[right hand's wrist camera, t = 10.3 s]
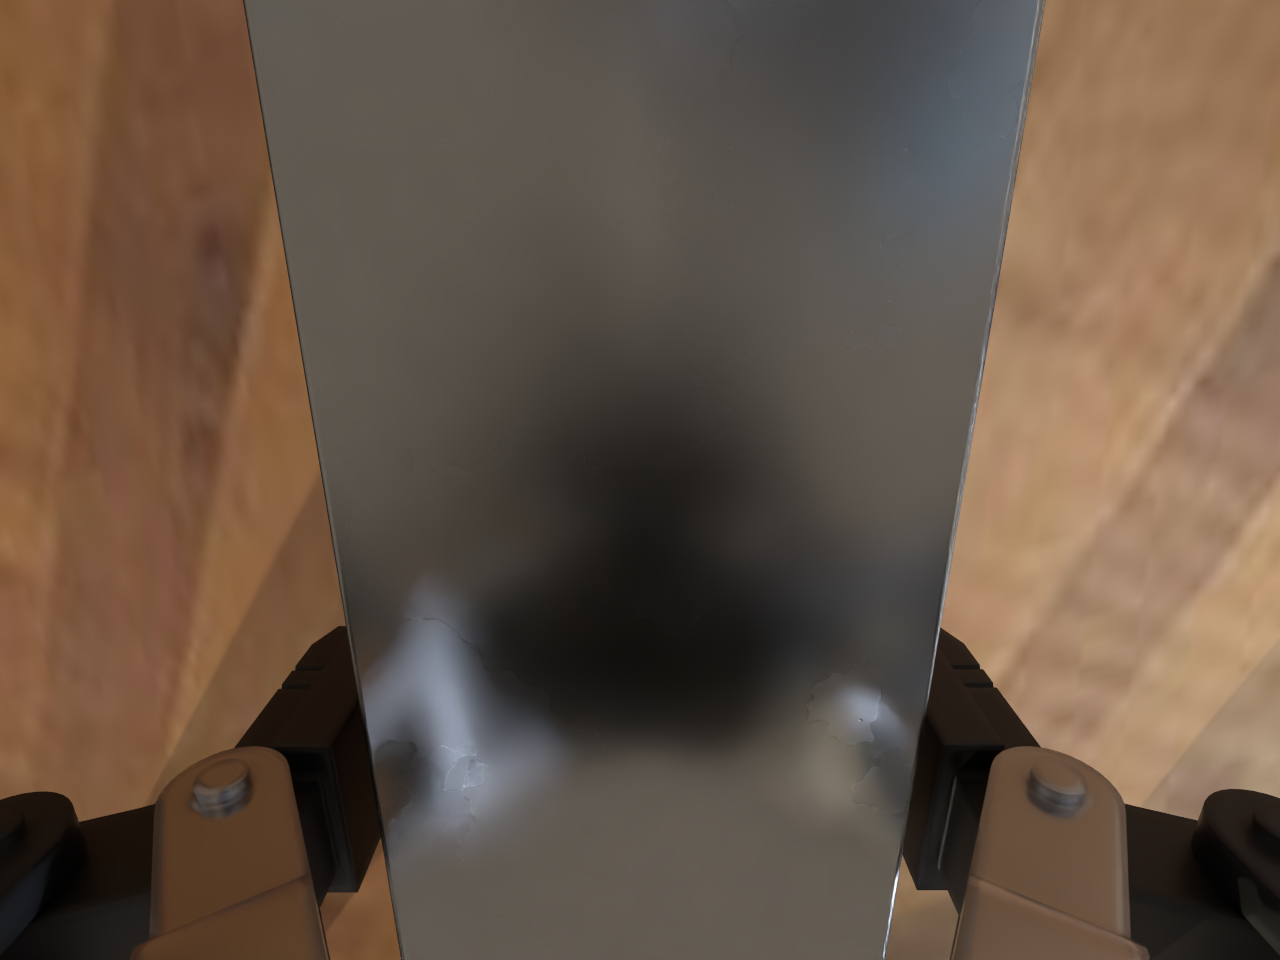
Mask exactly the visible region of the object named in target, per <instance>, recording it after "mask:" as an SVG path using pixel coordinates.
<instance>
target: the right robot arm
mask: <svg viewBox="0 0 1280 960" xmlns="http://www.w3.org/2000/svg"><path fill="white" fill-rule="evenodd" d="M380 837H381V834H380V827H379V821H378V815H377V809H376V803H375V797H374V791H373V785H372V779H371V773H370V767H369V761H368V755H367V749H366V743H365V736H364V730H363V724H362V718H361V712H360V706H359V700H358V694H357V688H356V682H355V676H354V670H353V664H352V658H351V652H350V646H349V639H348V633H347V627H346V626H338V627H337V628H336V629H334V630H333V631H331V632H330V633H328V634H327V635H325V636H324V637H322V638H321V639H320V640H318V641H317V642H315V643H314V644H312V645H311V647H310V648H309V649H308V651H307V652H306V653H305V655H304V656H303V657H302V658H301V660H300V661H299V662H298V664H297V665H296V669H295V671H292V672H291V673H290V674H289V676H288V677H287V678H286V680H285V681H284V682H283V684H282V689H278V690H277V692H276V693H275V694H274V696H273V697H272V698H271V700H270V701H269V702H268V704H267V705H266V706H265V708H264V709H263V710H262V712H261V713H260V714H259V716H258V717H257V718H256V720H255V721H254V722H253V724H252V725H251V726H250V728H249V729H248V730H247V732H246V733H245V734H244V736H243V737H242V738H241V740H240V741H239V742H238V744H237V745H236V746H235V748H234V749H230V750H226V751H222V752H219V753H217V754H214V755H211V756H209V757H207V758H205V759H202V760H200V761H198V762H197V763H195V764H193V765H191V766H190V767H188V768H187V769H185V770H184V771H182V772H181V773H180V774H178V775H177V776H176V777H175V778H174V779H173V780H172V781H171V782H170V783H169V784H168V785H167V786H166V787H165V788H164V790H163V791H162V793H161V794H160V795H159V797H158V800H157V802H156V804H153V805H150V806H146V807H142V808H139V809H134V810H130V811H125V812H121V813H117V814H112V815H108V816H104V817H99V818H95V819H91V820H86V821H82V822H79V821H78V818H77V815H76V813H75V810H74V807H73V804H72V803H71V801H70V800H69V799H68V798H67V797H65V796H64V795H61V794H58V793H54V792H31V793H24V794H20V795H16V796H11V797H8V798H5V799H2V800H0V960H330V955H329V950H328V945H327V940H326V935H325V930H324V925H323V921H322V916H321V912H320V906H321V904H322V902H323V900H324V898H325V896H326V893H327V892H358V891H359V888H360V886H361V883H362V881H363V879H364V876H365V874H366V871H367V869H368V866H369V864H370V862H371V859H372V857H373V854H374V852H375V849H376V847H377V845H378V842H379V840H380ZM902 854H903V857H904V859H905V862H906V864H907V867H908V869H909V871H910V874H911V876H912V879H913V881H914V884H915V886H916V889H917V890H948V892H949V894H950V897H951V899H952V901H953V903H954V905H955V908H956V910H957V912H958V914H959V916H958V921H957V925H956V930H955V935H954V940H953V945H952V950H951V955H950V960H1280V798H1277V797H1274V796H1271V795H1268V794H1264V793H1260V792H1255V791H1250V790H1242V789H1227V790H1221V791H1217V792H1214V793H1213V794H1211V795H1210V796H1208V798H1207V799H1206V800H1205V803H1204V805H1203V808H1202V811H1201V814H1200V817H1199V819H1198V821H1197V820H1192V819H1188V818H1184V817H1179V816H1175V815H1171V814H1166V813H1162V812H1158V811H1153V810H1149V809H1145V808H1140V807H1136V806H1132V805H1128V804H1124V802H1123V800H1122V797H1121V795H1120V794H1119V793H1118V791H1117V790H1116V788H1115V787H1114V786H1113V785H1112V784H1111V783H1110V782H1109V781H1108V780H1107V779H1106V778H1105V777H1104V776H1103V775H1102V774H1100V773H1099V772H1098V771H1096V770H1095V769H1093V768H1092V767H1090V766H1089V765H1087V764H1085V763H1083V762H1082V761H1080V760H1078V759H1075V758H1073V757H1071V756H1069V755H1066V754H1063V753H1061V752H1058V751H1054V750H1050V749H1046V748H1041V747H1040V745H1039V744H1038V743H1037V741H1036V740H1035V739H1034V737H1033V736H1032V735H1031V733H1030V732H1029V731H1028V729H1027V728H1026V727H1025V725H1024V724H1023V723H1022V721H1021V720H1020V719H1019V717H1018V716H1017V715H1016V713H1015V712H1014V710H1013V709H1012V708H1011V706H1010V705H1009V704H1008V702H1007V701H1006V700H1005V698H1004V697H1003V696H1002V694H1001V693H1000V692H999V690H998V689H997V688H994V687H993V682H992V681H991V680H990V678H989V677H988V675H987V674H986V673H985V671H984V670H983V669H980V665H979V663H978V662H977V661H976V659H975V658H974V657H973V655H972V654H971V653H970V651H969V650H968V649H967V647H966V646H965V645H964V643H962V642H961V641H959V640H958V639H956V638H955V637H953V636H952V635H951V634H949V633H948V632H946V631H945V630H943V629H942V628H940V632H939V638H938V644H937V650H936V656H935V662H934V668H933V674H932V680H931V686H930V692H929V698H928V704H927V710H926V716H925V722H924V728H923V734H922V740H921V746H920V752H919V758H918V764H917V770H916V776H915V781H914V787H913V793H912V799H911V805H910V811H909V817H908V823H907V829H906V835H905V841H904V847H903V853H902Z"/></svg>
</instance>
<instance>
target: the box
mask: <svg viewBox="0 0 1280 960" xmlns="http://www.w3.org/2000/svg"><path fill="white" fill-rule="evenodd" d="M243 3H244V9H245V15H246V21H247V27H248V33H249V39H250V45H251V51H252V57H253V63H254V69H255V75H256V82H257V88H258V94H259V100H260V106H261V112H262V118H263V124H264V130H265V136H266V142H267V148H268V154H269V160H270V166H271V172H272V179H273V185H274V191H275V197H276V203H277V209H278V215H279V221H280V227H281V233H282V239H283V245H284V251H285V257H286V263H287V270H288V276H289V282H290V288H291V294H292V300H293V306H294V312H295V318H296V324H297V330H298V336H299V342H300V348H301V354H302V360H303V367H304V373H305V379H306V385H307V391H308V397H309V403H310V409H311V415H312V421H313V427H314V433H315V439H316V445H317V451H318V458H319V464H320V470H321V476H322V482H323V488H324V494H325V500H326V506H327V512H328V518H329V524H330V530H331V536H332V542H333V548H334V555H335V561H336V567H337V573H338V579H339V585H340V591H341V597H342V603H343V609H344V615H345V621H346V627H347V633H348V639H349V646H350V652H351V658H352V664H353V670H354V676H355V682H356V688H357V694H358V700H359V706H360V712H361V718H362V724H363V730H364V736H365V743H366V749H367V755H368V761H369V767H370V773H371V779H372V785H373V791H374V797H375V803H376V809H377V815H378V821H379V827H380V834H381V840H382V846H383V852H384V858H385V864H386V870H387V876H388V882H389V888H390V894H391V900H392V906H393V912H394V918H395V924H396V931H397V937H398V943H399V949H400V955H401V960H885V954H886V948H887V942H888V937H889V931H890V925H891V919H892V913H893V907H894V901H895V895H896V889H897V883H898V877H899V871H900V865H901V859H902V853H903V847H904V841H905V835H906V829H907V823H908V817H909V811H910V805H911V799H912V793H913V787H914V781H915V776H916V770H917V764H918V758H919V752H920V746H921V740H922V734H923V728H924V722H925V716H926V710H927V704H928V698H929V692H930V686H931V680H932V674H933V668H934V662H935V656H936V650H937V644H938V638H939V632H940V626H941V621H942V615H943V609H944V603H945V597H946V591H947V585H948V579H949V573H950V567H951V561H952V555H953V549H954V543H955V537H956V531H957V525H958V519H959V513H960V507H961V501H962V495H963V489H964V483H965V477H966V471H967V466H968V460H969V454H970V448H971V442H972V436H973V430H974V424H975V418H976V412H977V406H978V400H979V394H980V388H981V382H982V376H983V370H984V364H985V358H986V352H987V346H988V340H989V334H990V328H991V322H992V316H993V311H994V305H995V299H996V293H997V287H998V281H999V275H1000V269H1001V263H1002V257H1003V251H1004V245H1005V239H1006V233H1007V227H1008V221H1009V215H1010V209H1011V203H1012V197H1013V191H1014V185H1015V179H1016V173H1017V167H1018V161H1019V155H1020V150H1021V144H1022V138H1023V132H1024V126H1025V120H1026V114H1027V108H1028V102H1029V96H1030V90H1031V84H1032V78H1033V72H1034V66H1035V60H1036V54H1037V48H1038V42H1039V36H1040V30H1041V24H1042V18H1043V12H1044V6H1045V0H243Z"/></svg>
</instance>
